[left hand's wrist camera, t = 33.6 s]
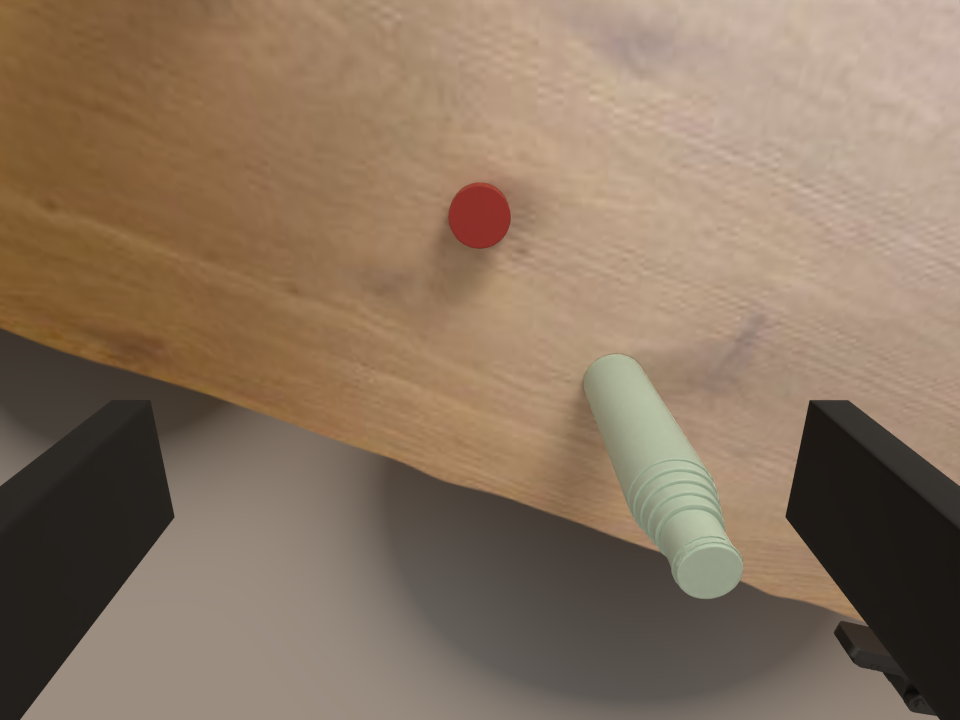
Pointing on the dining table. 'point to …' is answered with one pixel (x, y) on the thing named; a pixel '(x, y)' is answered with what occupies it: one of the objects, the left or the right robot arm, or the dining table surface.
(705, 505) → the bottle
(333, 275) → the dining table surface
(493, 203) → the cap
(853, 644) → the right robot arm
